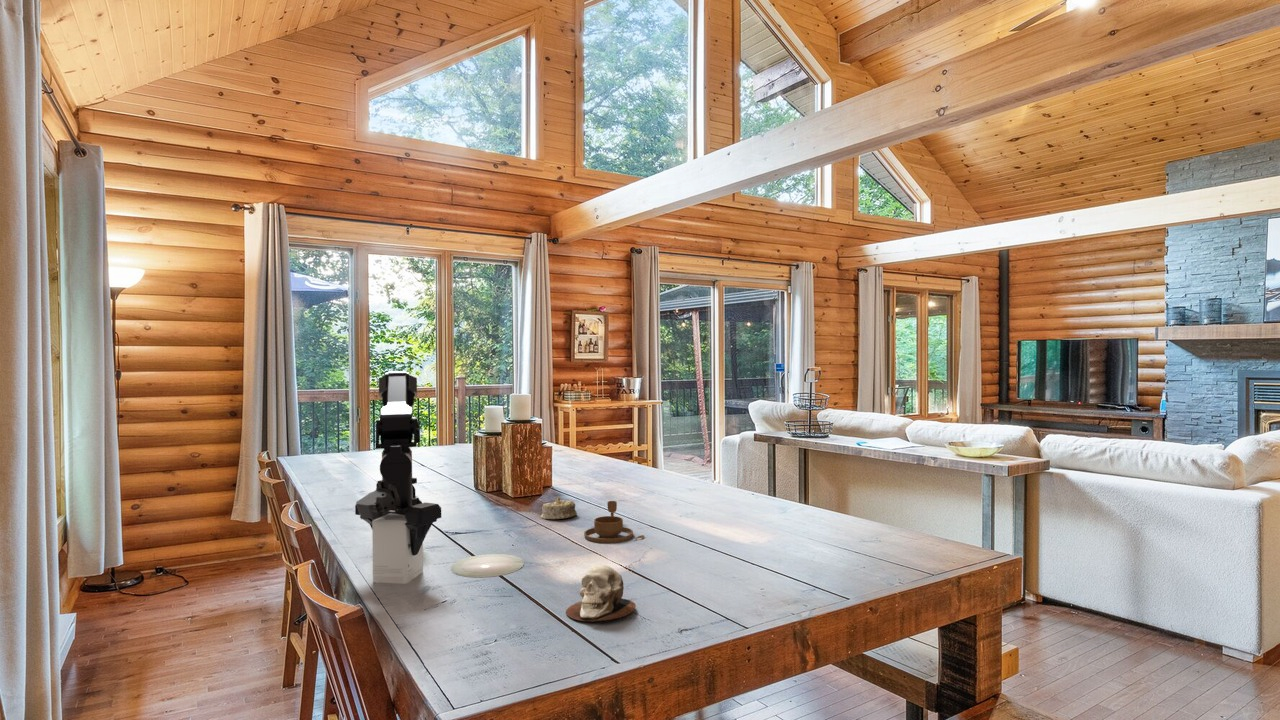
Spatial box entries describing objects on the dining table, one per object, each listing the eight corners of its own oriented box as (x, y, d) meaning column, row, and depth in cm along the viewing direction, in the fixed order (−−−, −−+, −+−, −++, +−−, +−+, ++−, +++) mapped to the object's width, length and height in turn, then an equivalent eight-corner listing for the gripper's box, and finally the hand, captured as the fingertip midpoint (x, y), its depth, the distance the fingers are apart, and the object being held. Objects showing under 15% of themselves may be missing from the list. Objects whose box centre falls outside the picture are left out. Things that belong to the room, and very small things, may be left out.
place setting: (564, 540, 170) (563, 516, 170) (608, 522, 187) (608, 500, 187) (625, 550, 161) (625, 524, 161) (666, 530, 178) (666, 507, 178)
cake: (584, 516, 192) (584, 496, 192) (556, 523, 185) (556, 502, 185) (560, 510, 199) (560, 491, 199) (532, 517, 192) (532, 497, 191)
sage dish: (435, 571, 145) (435, 569, 145) (484, 552, 158) (484, 550, 158) (491, 582, 137) (491, 580, 137) (538, 561, 151) (538, 559, 151)
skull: (618, 623, 113) (576, 574, 115) (583, 659, 117) (544, 610, 120) (652, 593, 123) (613, 549, 126) (619, 626, 127) (582, 582, 130)
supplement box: (407, 585, 136) (406, 520, 136) (371, 583, 138) (370, 519, 137) (424, 573, 144) (423, 512, 143) (390, 571, 145) (389, 511, 145)
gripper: (331, 477, 138) (332, 556, 138) (398, 484, 129) (399, 569, 129) (377, 469, 148) (378, 543, 148) (442, 475, 139) (444, 554, 139)
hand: (398, 552), depth 141 cm, fingers open, 9 cm apart
